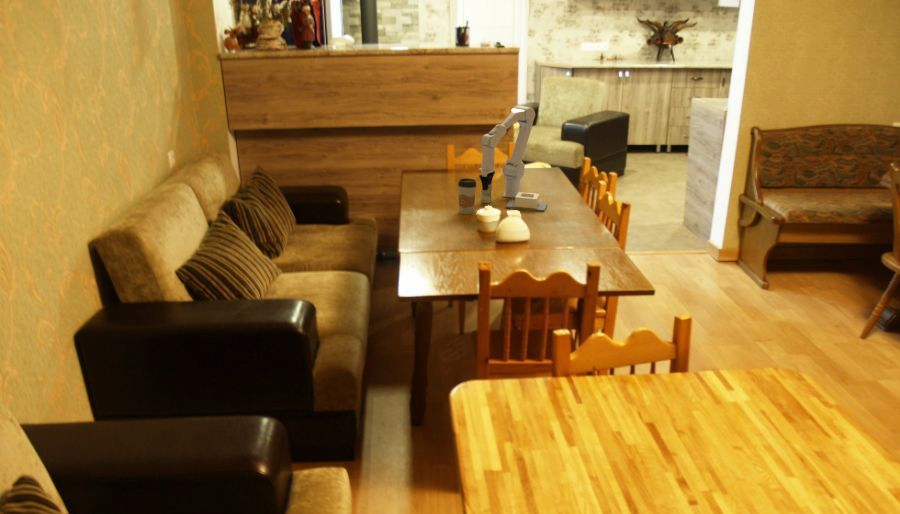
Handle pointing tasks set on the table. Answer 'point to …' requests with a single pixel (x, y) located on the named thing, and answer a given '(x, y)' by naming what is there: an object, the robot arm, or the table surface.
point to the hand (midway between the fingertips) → (486, 188)
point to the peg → (486, 195)
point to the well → (527, 202)
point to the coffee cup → (466, 195)
